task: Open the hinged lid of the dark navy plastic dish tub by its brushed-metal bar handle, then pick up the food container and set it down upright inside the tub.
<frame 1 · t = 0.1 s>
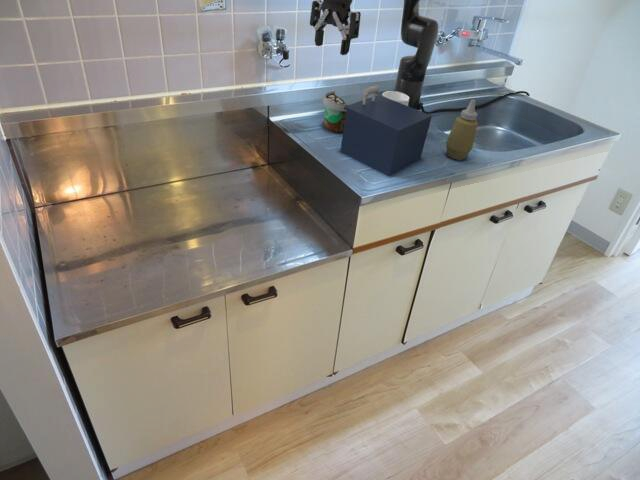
hand: (331, 49, 122), 29 cm above the table, tool pointing down, fingers open, 8 cm apart
squeeze bottle: (455, 156, 148), on the table
dish tub: (380, 155, 142), on the table
cup: (388, 131, 157), on the table
food container: (330, 128, 154), on the table
tub lid: (389, 104, 133), point 16 cm above the table, hinge at 0.0°
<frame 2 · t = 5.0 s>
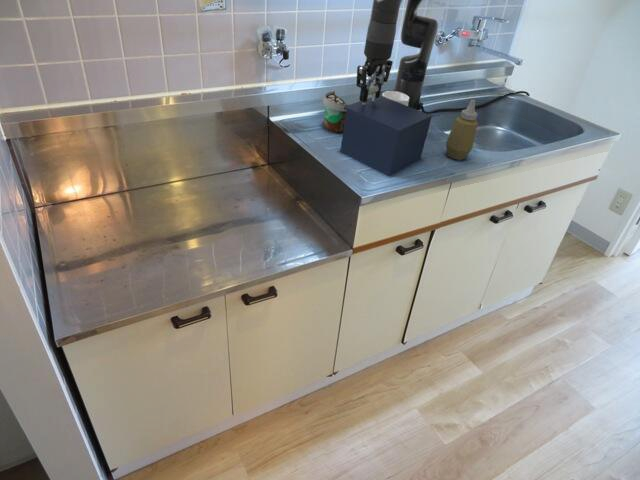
hand: (369, 99, 137), 15 cm above the table, tool pointing down, fingers closed on tub lid, 5 cm apart
tub lid: (389, 104, 133), point 16 cm above the table, hinge at -0.1°, touching gripper
everything else where it was.
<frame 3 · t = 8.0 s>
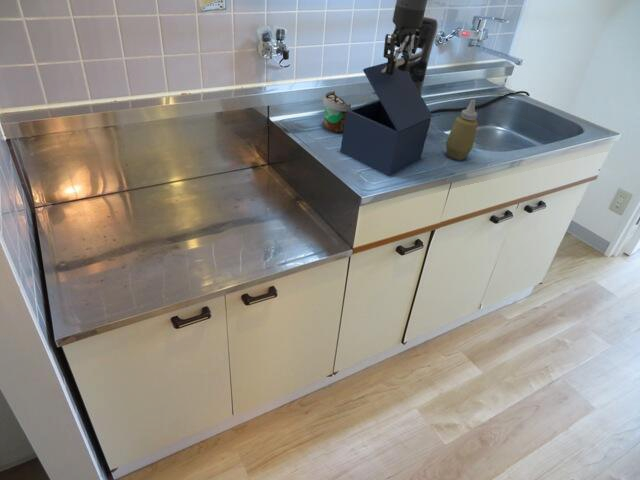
hand: (395, 72, 127), 25 cm above the table, tool pointing down, fingers closed on tub lid, 5 cm apart
tub lid: (405, 89, 128), point 21 cm above the table, hinge at 40.0°, touching gripper
everything else where it was.
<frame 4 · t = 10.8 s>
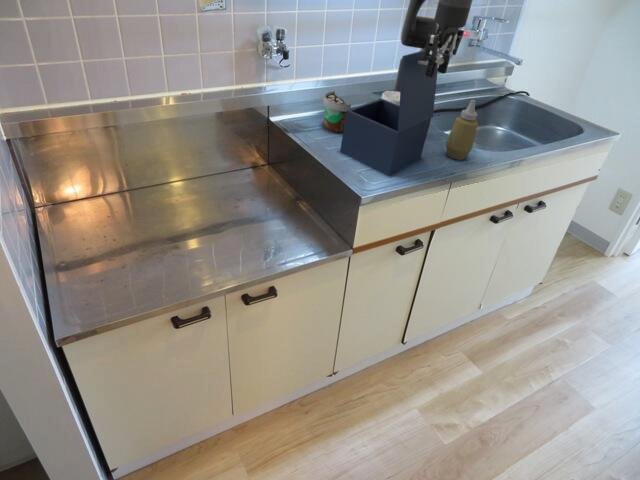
hand: (435, 74, 120), 28 cm above the table, tool pointing down, fingers closed on tub lid, 5 cm apart
tub lid: (426, 90, 123), point 23 cm above the table, hinge at 79.9°, touching gripper
everything else where it was.
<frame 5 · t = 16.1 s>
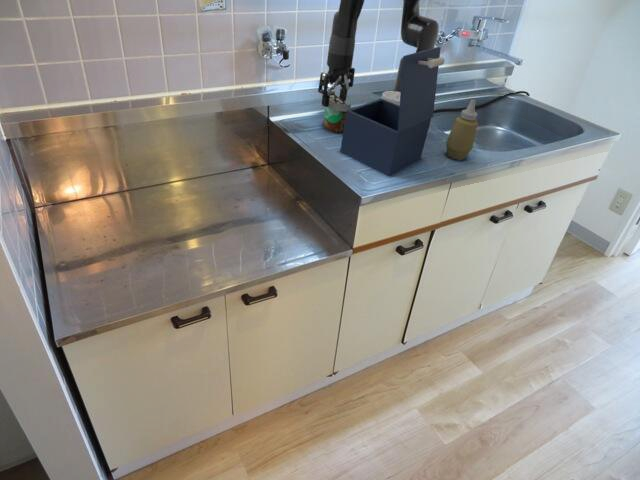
hand: (333, 103, 148), 8 cm above the table, tool pointing down, fingers open, 8 cm apart
food container: (330, 128, 154), on the table, touching gripper
tub lid: (426, 90, 123), point 23 cm above the table, hinge at 80.5°
everything else where it was.
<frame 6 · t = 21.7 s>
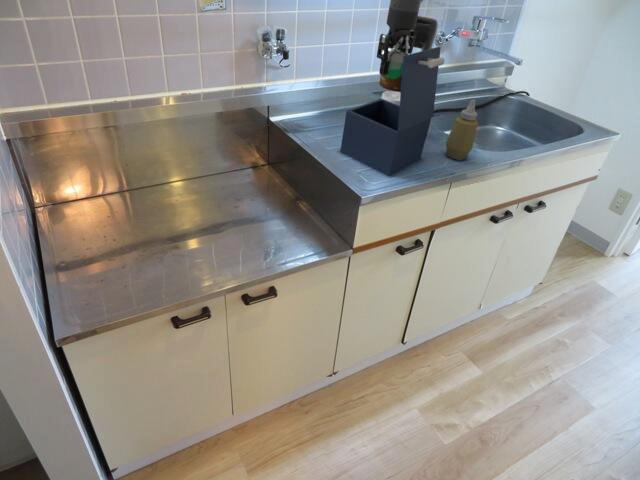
hand: (391, 72, 129), 24 cm above the table, tool pointing down, fingers closed on food container, 7 cm apart
food container: (387, 87, 131), point 20 cm above the table, touching gripper
everything else where it was.
when the fingers open (5 cm above the table, at t = 26.8 s): food container stays where it is, resting on dish tub.
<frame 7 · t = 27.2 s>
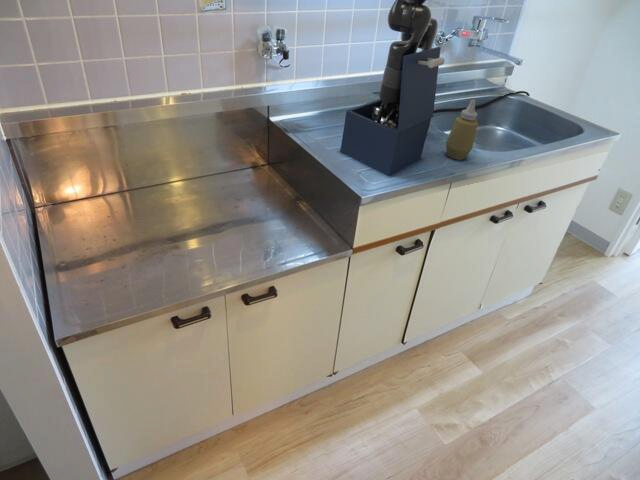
hand: (384, 137, 138), 6 cm above the table, tool pointing down, fingers open, 8 cm apart
food container: (380, 152, 141), point 1 cm above the table, touching dish tub
everything else where it was.
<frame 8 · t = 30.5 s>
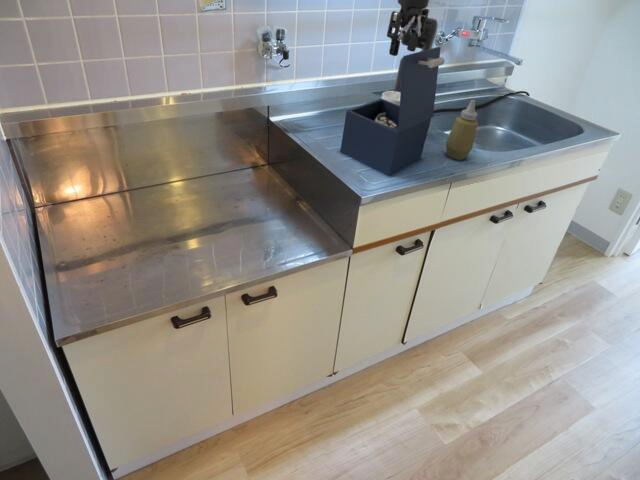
hand: (402, 52, 124), 30 cm above the table, tool pointing down, fingers open, 8 cm apart
nothing on the table moved.
at the end: tub lid at +80° (first picture: +0°); food container inside the target area in the dish tub (0.3 cm from its centre), point 0.8 cm above the dish tub's base; food container tilted 0° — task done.
